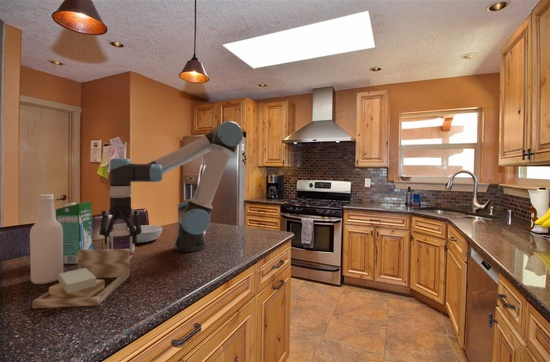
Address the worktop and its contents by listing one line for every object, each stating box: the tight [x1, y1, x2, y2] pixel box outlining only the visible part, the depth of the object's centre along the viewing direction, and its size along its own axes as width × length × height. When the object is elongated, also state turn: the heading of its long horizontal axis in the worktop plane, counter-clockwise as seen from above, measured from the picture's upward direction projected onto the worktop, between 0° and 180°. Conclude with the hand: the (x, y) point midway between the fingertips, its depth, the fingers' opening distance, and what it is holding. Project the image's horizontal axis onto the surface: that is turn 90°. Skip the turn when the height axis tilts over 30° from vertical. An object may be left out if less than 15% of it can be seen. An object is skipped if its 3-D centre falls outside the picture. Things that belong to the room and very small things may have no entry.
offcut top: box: [58, 268, 97, 293], centre depth 82 cm, size 12×7×2 cm, turn 48°
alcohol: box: [29, 193, 64, 285], centre depth 94 cm, size 9×9×30 cm
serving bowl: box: [128, 224, 163, 244], centre depth 148 cm, size 21×21×7 cm
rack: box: [31, 248, 131, 309], centre depth 87 cm, size 17×22×10 cm
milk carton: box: [55, 201, 93, 265], centre depth 115 cm, size 9×9×25 cm
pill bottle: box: [109, 223, 133, 259], centre depth 110 cm, size 8×8×14 cm
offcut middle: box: [48, 279, 106, 297], centre depth 82 cm, size 12×7×2 cm, turn 84°
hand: (121, 251), depth 110 cm, fingers closed on pill bottle, 8 cm apart
